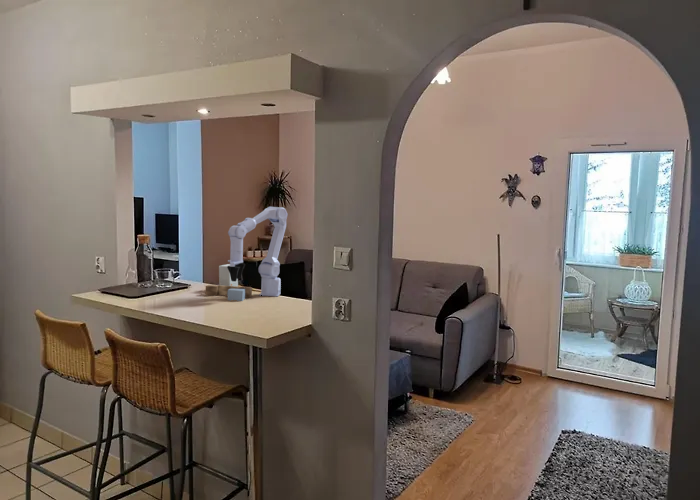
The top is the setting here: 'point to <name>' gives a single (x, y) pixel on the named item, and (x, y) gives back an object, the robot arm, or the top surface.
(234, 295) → the cabinet block
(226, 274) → the small box
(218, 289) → the beige wooden bar
